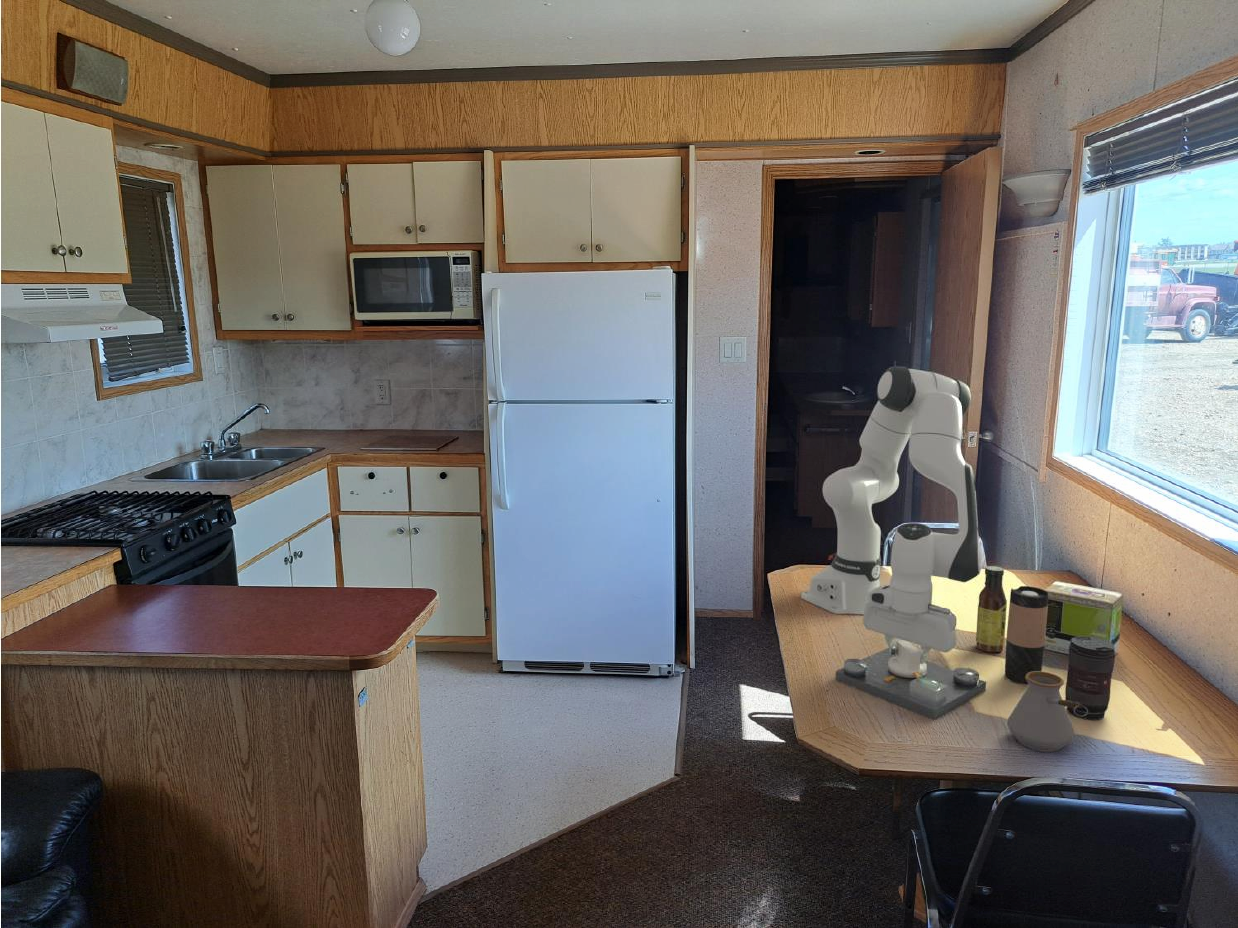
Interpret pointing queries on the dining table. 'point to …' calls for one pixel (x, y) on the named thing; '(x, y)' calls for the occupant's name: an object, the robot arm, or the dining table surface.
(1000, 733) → the dining table surface
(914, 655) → the knob
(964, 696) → the levelling base
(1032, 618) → the travel mug
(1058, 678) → the coffee pot
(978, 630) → the sauce bottle
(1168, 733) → the dining table surface
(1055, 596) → the tea box
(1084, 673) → the camera lens
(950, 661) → the dining table surface
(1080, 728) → the dining table surface
